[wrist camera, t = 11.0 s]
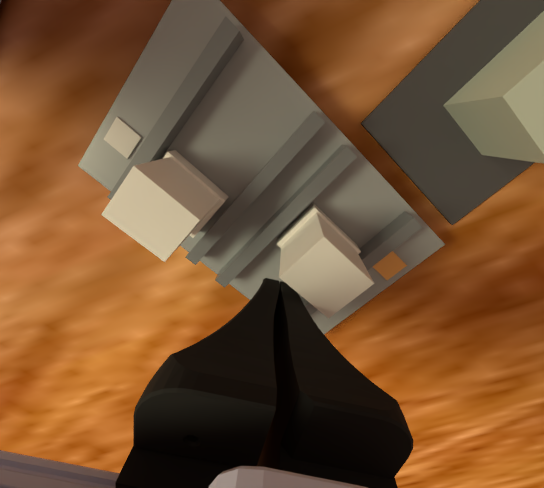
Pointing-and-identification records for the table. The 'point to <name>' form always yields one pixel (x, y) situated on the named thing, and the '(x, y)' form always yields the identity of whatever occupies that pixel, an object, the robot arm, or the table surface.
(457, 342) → the table surface
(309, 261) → the tab
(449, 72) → the tool mat
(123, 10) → the table surface
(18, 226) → the table surface
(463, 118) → the driver
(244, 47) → the switch panel
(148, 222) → the tab
